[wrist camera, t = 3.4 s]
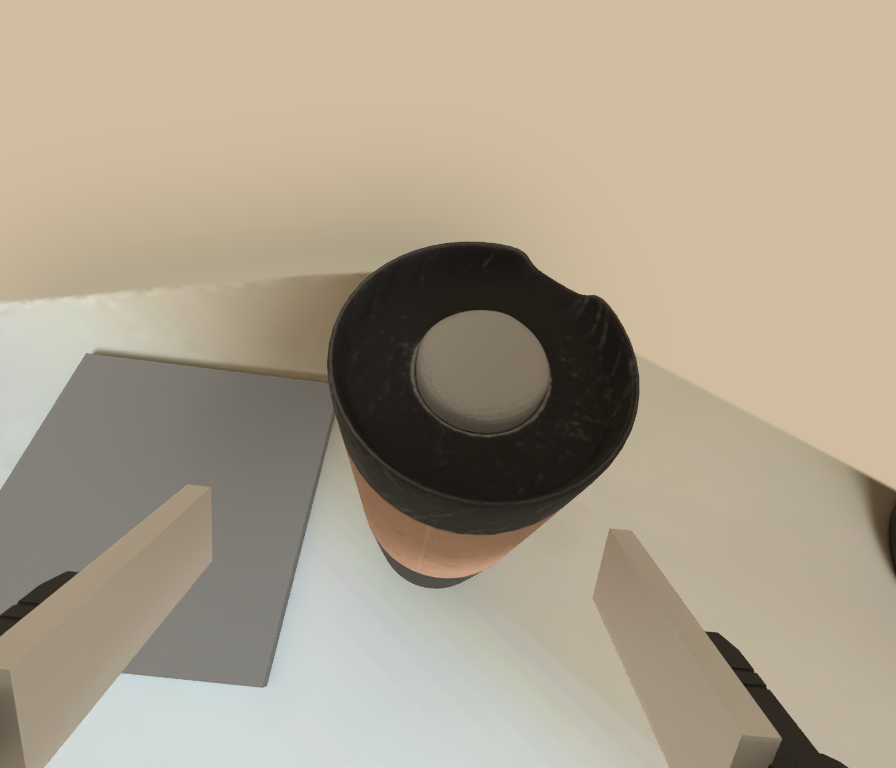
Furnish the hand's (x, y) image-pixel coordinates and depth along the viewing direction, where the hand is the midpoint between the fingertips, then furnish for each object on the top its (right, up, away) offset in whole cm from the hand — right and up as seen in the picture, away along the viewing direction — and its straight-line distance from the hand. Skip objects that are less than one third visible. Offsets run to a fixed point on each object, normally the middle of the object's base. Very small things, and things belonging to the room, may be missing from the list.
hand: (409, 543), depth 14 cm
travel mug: (+1, -4, +13) cm, 14 cm away
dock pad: (-16, -2, +13) cm, 21 cm away
